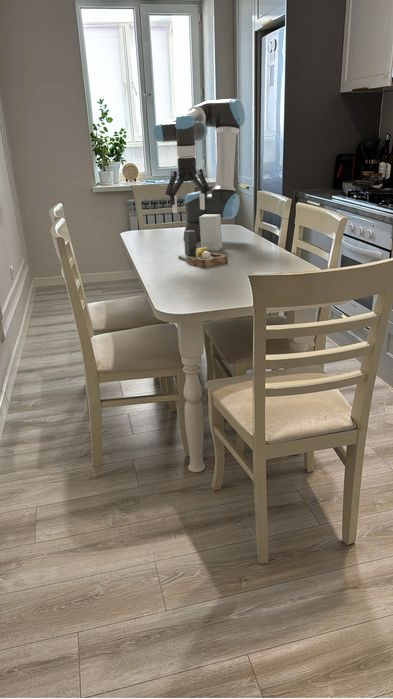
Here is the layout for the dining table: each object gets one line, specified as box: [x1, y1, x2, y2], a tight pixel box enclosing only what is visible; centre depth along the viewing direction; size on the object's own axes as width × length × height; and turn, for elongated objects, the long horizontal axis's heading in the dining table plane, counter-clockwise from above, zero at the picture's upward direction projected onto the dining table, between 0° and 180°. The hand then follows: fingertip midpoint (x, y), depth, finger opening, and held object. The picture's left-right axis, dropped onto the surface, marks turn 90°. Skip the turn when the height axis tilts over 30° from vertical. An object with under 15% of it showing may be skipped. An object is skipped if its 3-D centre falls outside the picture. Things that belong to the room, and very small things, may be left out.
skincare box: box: [199, 214, 223, 252], centre depth 237 cm, size 8×7×16 cm
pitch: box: [177, 252, 229, 269], centre depth 219 cm, size 13×21×3 cm, turn 33°
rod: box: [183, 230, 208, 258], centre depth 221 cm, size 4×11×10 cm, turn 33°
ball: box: [202, 250, 211, 259], centre depth 216 cm, size 4×4×4 cm
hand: (188, 211), depth 218 cm, fingers open, 13 cm apart
